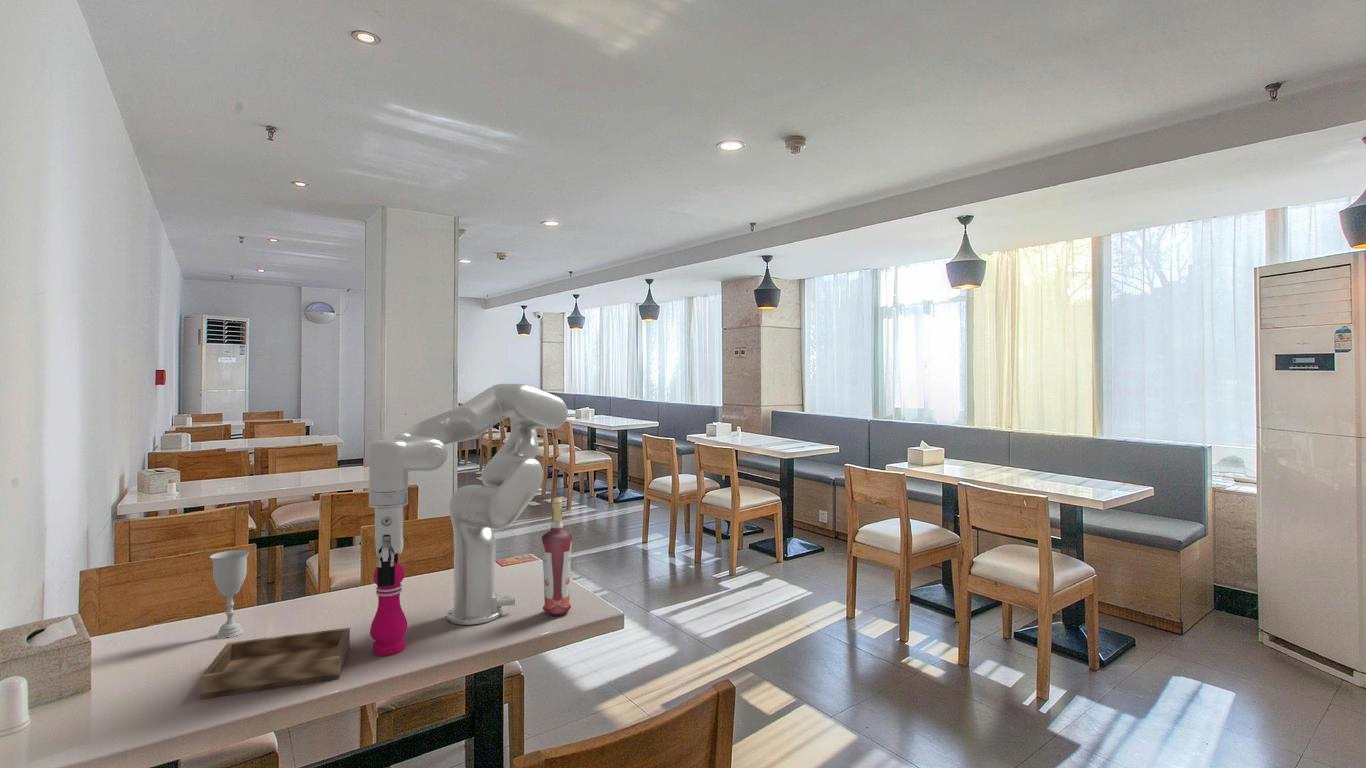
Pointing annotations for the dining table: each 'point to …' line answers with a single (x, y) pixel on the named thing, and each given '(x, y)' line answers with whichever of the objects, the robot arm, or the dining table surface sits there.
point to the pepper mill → (389, 617)
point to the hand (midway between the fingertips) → (387, 579)
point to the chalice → (229, 584)
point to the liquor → (556, 563)
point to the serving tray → (276, 662)
